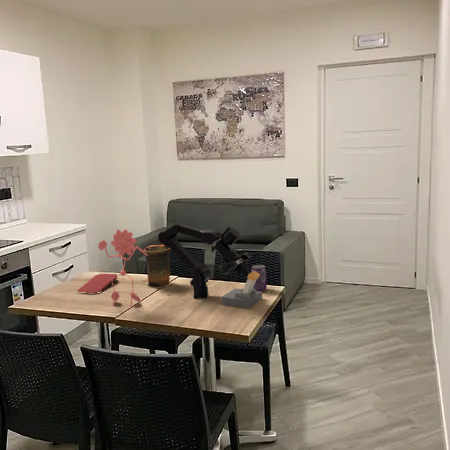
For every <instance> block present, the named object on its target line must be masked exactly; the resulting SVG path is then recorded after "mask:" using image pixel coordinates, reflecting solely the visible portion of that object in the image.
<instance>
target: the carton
mask: <svg viewBox="0 0 450 450" xmlns="http://www.w3.org/2000/svg"><path fill="white" fill-rule="evenodd" d="M117 275H118V273H99V274H96V275H94V276H93V277H91V278H90V279H89V280H88V281H87V282H86V283H84V284H83V285H82V286H80V288H79V289H77V290H76V292H77V291H78V292H86V293H97V292H100V291H102V290H103V289H104V290H105V289H106V288H107V287H108V286H109V285H110V284H112V281H113V282H115V281H114V280H116V279H118V276H117ZM116 276H117V277H116ZM114 277H116V278H114ZM113 278H114V279H113ZM111 280H112V281H111ZM104 290H103V291H104ZM103 291H102V292H103ZM100 293H101V292H100Z"/></svg>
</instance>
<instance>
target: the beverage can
mask: <svg viewBox="0 0 450 450" xmlns="http://www.w3.org/2000/svg"><path fill="white" fill-rule="evenodd" d="M253 271H256V272H257V273H259V274H260V276H259V278H258V279H257V280H256V282H255V284H254V287H253V289H252V290H256V291H261V292H263V291H266V290H267V270H266V266H265V265H263V264H255V265H252V266H251V272H253Z"/></svg>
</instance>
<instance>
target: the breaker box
mask: <svg viewBox="0 0 450 450" xmlns="http://www.w3.org/2000/svg"><path fill="white" fill-rule="evenodd" d="M243 289H244V287H242V288H233V289H232V290H230V291H229V292H227V293H225V294H224V295H222V296H220V301H221V302H220V303H221V305H223V306H229V307H237V308H243V309H250V308H252V307H254V306H255V305H256V304H257V303H258V302H260V301H262V300H263V291H256V290H253V289H252V291H251V293H250V294H243V293H242V291H243Z"/></svg>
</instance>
